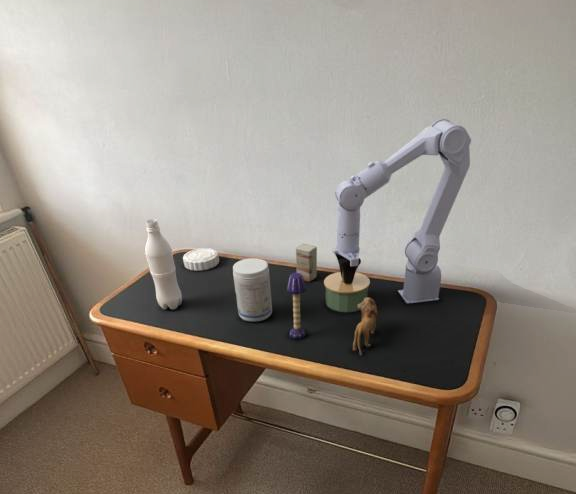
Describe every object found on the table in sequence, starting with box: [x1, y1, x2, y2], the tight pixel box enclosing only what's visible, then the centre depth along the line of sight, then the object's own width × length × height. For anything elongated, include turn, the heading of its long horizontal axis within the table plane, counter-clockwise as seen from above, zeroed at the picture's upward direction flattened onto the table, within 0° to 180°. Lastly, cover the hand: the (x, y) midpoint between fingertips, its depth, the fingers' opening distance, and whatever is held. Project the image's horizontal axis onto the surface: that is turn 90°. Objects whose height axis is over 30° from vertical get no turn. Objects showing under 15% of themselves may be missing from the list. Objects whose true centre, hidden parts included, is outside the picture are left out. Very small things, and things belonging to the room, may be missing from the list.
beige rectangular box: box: [295, 243, 318, 283], centre depth 143 cm, size 5×4×10 cm
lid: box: [323, 271, 371, 294], centre depth 127 cm, size 13×13×5 cm
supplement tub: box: [232, 257, 273, 323], centre depth 125 cm, size 10×10×15 cm
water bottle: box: [144, 218, 183, 310], centre depth 129 cm, size 7×7×25 cm
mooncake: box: [182, 247, 220, 272], centre depth 158 cm, size 12×12×4 cm
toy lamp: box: [286, 272, 307, 340], centre depth 115 cm, size 5×5×17 cm
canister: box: [325, 287, 369, 313], centre depth 130 cm, size 12×12×6 cm
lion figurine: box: [352, 296, 379, 356], centre depth 114 cm, size 15×5×9 cm, turn 168°
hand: (346, 280), depth 127 cm, fingers closed on lid, 3 cm apart
